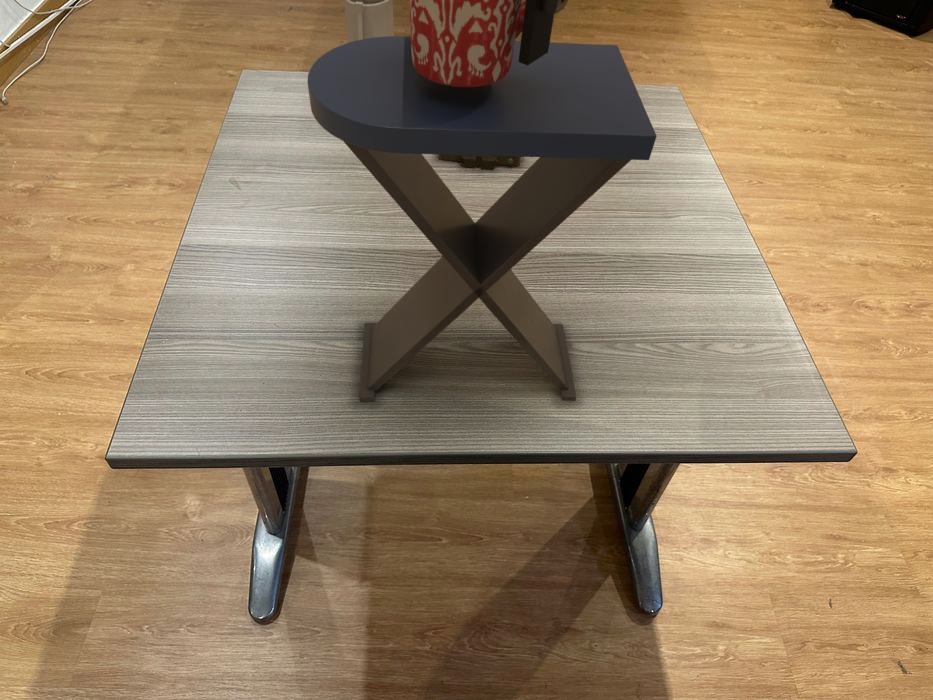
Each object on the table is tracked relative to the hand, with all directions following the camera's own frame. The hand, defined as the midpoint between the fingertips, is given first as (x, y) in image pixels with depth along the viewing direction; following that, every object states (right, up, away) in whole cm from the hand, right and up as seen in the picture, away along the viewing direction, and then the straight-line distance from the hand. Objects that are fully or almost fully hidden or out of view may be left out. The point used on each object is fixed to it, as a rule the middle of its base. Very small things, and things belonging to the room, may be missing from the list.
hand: (477, 35), depth 47 cm
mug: (0, -2, +1) cm, 2 cm away
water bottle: (-16, +15, +61) cm, 65 cm away
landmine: (+1, +11, +59) cm, 60 cm away
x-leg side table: (-2, -24, +29) cm, 38 cm away
